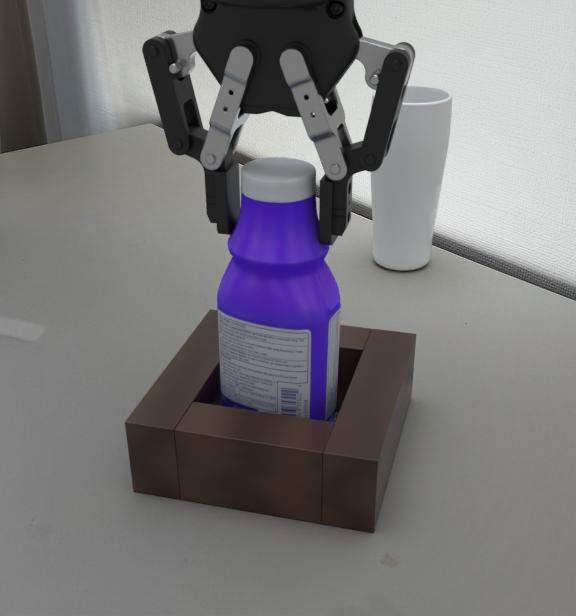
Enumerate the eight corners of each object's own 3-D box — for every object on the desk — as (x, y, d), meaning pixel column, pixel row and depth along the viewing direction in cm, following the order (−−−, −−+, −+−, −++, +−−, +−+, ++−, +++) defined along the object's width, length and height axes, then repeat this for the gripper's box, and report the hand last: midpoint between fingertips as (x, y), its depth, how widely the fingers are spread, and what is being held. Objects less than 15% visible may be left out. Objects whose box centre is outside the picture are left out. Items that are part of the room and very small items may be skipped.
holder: (133, 491, 52) (124, 422, 49) (213, 370, 64) (209, 308, 61) (373, 533, 48) (378, 461, 46) (411, 396, 60) (416, 333, 58)
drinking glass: (450, 256, 81) (467, 90, 73) (417, 282, 76) (430, 108, 68) (386, 241, 84) (395, 80, 76) (350, 265, 79) (355, 96, 71)
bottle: (348, 422, 57) (358, 159, 48) (313, 471, 52) (318, 192, 43) (249, 397, 59) (241, 144, 50) (208, 442, 55) (191, 172, 46)
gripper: (95, -112, 38) (133, 248, 47) (421, -109, 35) (395, 276, 44) (160, -119, 44) (182, 201, 53) (443, -117, 41) (416, 222, 50)
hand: (279, 233), depth 49 cm, fingers closed on bottle, 5 cm apart
